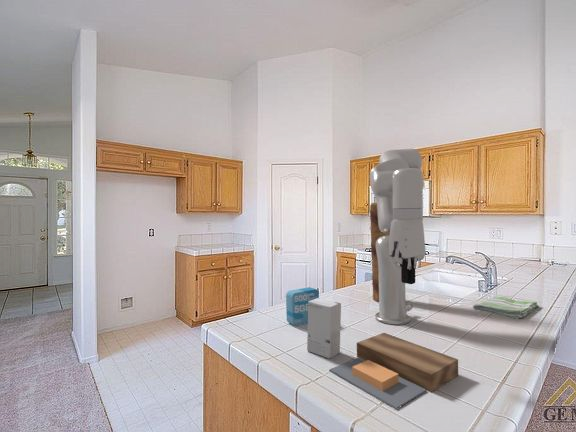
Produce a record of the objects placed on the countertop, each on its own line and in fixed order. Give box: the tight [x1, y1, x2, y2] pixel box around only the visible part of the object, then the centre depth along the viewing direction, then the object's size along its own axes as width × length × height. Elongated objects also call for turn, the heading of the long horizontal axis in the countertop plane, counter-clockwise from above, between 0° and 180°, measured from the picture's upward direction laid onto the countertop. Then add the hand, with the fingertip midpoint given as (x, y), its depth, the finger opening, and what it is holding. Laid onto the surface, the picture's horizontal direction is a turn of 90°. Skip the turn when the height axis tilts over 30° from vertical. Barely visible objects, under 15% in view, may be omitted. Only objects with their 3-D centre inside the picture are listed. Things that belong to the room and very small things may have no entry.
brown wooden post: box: [369, 202, 390, 303], centre depth 144 cm, size 10×11×45 cm
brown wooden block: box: [356, 332, 459, 393], centre depth 82 cm, size 12×22×4 cm, turn 35°
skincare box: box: [306, 297, 342, 359], centre depth 91 cm, size 8×6×15 cm
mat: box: [328, 357, 427, 410], centre depth 75 cm, size 11×20×1 cm, turn 35°
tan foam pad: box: [352, 360, 399, 391], centre depth 76 cm, size 9×6×2 cm, turn 36°
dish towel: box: [472, 296, 539, 320], centre depth 129 cm, size 17×23×4 cm
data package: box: [285, 286, 320, 327], centre depth 117 cm, size 12×4×12 cm, turn 121°
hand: (408, 282), depth 84 cm, fingers closed
